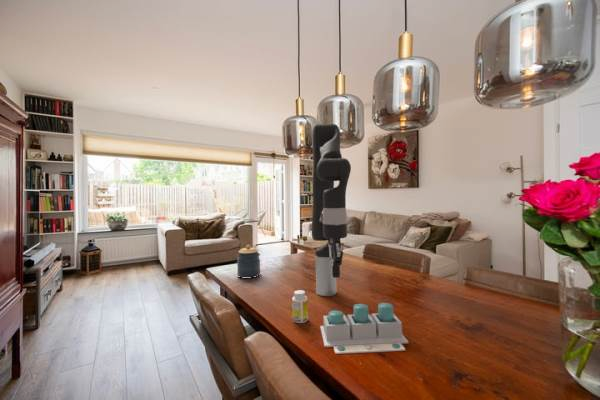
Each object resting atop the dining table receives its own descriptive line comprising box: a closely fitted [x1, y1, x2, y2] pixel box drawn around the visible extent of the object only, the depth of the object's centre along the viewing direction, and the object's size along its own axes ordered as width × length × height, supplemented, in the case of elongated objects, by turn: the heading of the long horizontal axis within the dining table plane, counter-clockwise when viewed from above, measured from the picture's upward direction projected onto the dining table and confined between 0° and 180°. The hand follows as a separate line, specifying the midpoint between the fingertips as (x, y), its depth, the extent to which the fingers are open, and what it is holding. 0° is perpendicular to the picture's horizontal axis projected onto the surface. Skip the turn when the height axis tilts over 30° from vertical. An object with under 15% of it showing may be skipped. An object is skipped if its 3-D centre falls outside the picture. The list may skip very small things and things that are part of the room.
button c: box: [377, 302, 395, 322], centre depth 86 cm, size 5×5×6 cm
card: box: [332, 343, 406, 355], centre depth 78 cm, size 3×20×1 cm, turn 92°
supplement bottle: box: [291, 289, 309, 324], centre depth 97 cm, size 6×6×10 cm
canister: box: [236, 244, 261, 277], centre depth 154 cm, size 13×13×18 cm
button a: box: [328, 310, 344, 325], centre depth 86 cm, size 5×5×6 cm
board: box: [319, 312, 409, 348], centre depth 86 cm, size 12×25×5 cm, turn 92°
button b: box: [353, 303, 369, 323], centre depth 86 cm, size 5×5×6 cm
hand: (336, 276), depth 85 cm, fingers closed
